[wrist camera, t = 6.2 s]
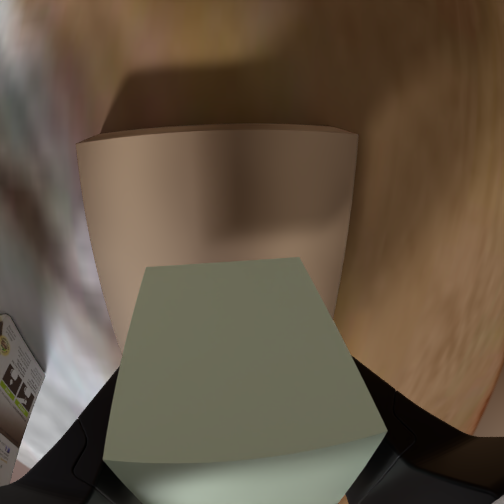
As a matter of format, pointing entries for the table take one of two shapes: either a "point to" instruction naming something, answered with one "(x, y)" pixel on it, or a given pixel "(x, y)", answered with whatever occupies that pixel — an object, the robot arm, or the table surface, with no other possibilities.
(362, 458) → the sage block
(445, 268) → the table surface
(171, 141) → the walnut riser block
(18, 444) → the coffee box
